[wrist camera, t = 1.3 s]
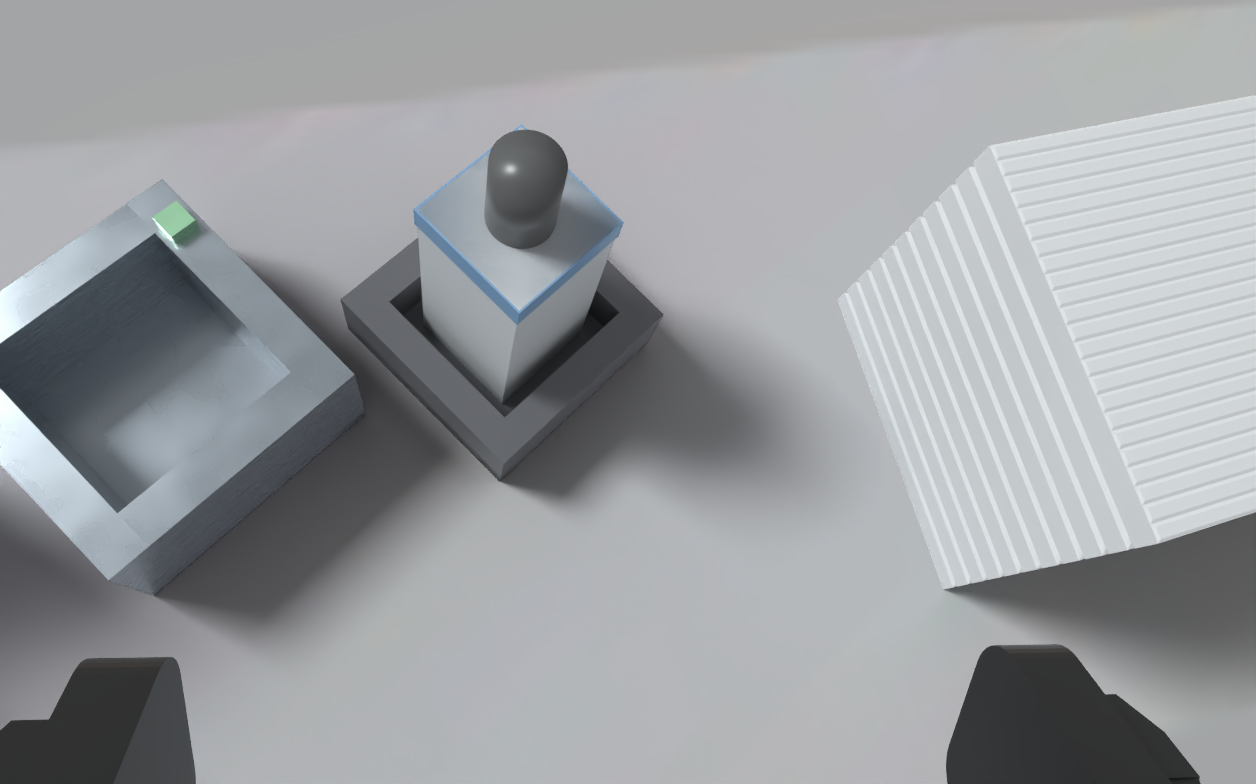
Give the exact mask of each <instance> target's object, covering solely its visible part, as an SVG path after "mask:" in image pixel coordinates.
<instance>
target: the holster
mask: <svg viewBox="0 0 1256 784" xmlns="http://www.w3.org/2000/svg"><path fill="white" fill-rule="evenodd" d="M341 303H342V306H343V310H344V314H345V317H346V321H347V325H348V329H349V330H350V331H351V332H352V333H353V334H354V335H355V336H356V337H357V338H358V339H359V340H360V341H361V342H362V343H363V344H364V345H365V346H366V347H367V348H368V349H369V350H370V351H371V352H372V353H373V354H374V355H375V356H376V357H377V358H378V359H379V360H380V361H381V362H382V363H383V364H384V365H385V366H386V367H387V368H388V369H389V370H390V371H391V372H392V373H393V374H394V375H395V376H396V377H397V378H398V379H399V380H400V381H401V382H402V383H403V384H404V385H405V386H406V387H407V388H408V389H409V390H410V391H411V393H412V394H413V395H414V396H415V397H416V398H417V399H418V400H419V401H420V402H421V403H422V404H423V405H424V406H425V407H426V408H427V409H428V410H429V411H430V412H431V413H432V414H433V415H434V416H435V417H436V418H437V419H438V420H439V421H440V422H441V423H442V424H443V425H444V426H445V427H446V428H447V429H448V430H449V431H450V432H451V433H452V434H453V435H454V436H455V437H456V438H457V439H458V440H459V441H460V442H461V443H462V444H463V445H464V446H465V447H466V448H467V449H468V450H469V451H470V452H471V453H472V454H473V455H474V456H475V457H476V458H477V459H478V460H479V461H480V462H481V463H482V464H483V465H484V466H485V467H486V468H487V469H488V470H489V471H490V472H491V473H492V474H493V475H494V476H495V477H496V478H497V479H498V480H499V481H501V480H502V479H503V478H504V477H505V476H506V475H507V474H508V473H509V472H510V471H511V470H512V469H513V468H514V467H516V466H517V465H518V464H519V463H520V462H521V461H522V460H523V459H524V458H525V457H526V456H527V455H528V454H529V453H530V452H531V451H533V450H534V449H535V448H536V447H537V446H538V445H539V444H540V443H541V442H542V441H543V440H544V439H545V438H546V437H547V436H548V435H550V434H551V433H552V432H553V431H554V430H555V429H556V428H557V427H558V426H559V425H560V424H561V423H562V422H563V421H564V420H565V419H567V418H568V417H569V416H570V415H571V414H572V413H573V412H574V411H575V410H576V409H577V408H578V407H579V406H580V405H581V404H582V403H583V402H585V401H586V400H587V399H588V398H589V397H590V396H591V395H592V394H593V393H594V392H595V391H596V390H597V389H598V388H599V387H600V386H602V385H603V384H604V383H605V382H606V381H607V380H608V379H609V378H610V377H611V376H612V375H613V374H614V373H615V372H616V371H617V370H619V369H620V368H621V367H622V366H623V365H624V364H625V363H626V362H627V361H628V360H629V359H630V358H631V357H632V356H633V355H634V354H636V353H637V352H638V351H639V350H640V349H641V348H642V347H643V346H644V345H645V344H646V343H647V342H648V341H649V339H650V338H651V336H652V334H653V332H654V330H655V329H656V327H657V325H658V323H659V322H660V320H661V318H662V316H663V314H662V313H661V312H660V311H659V310H658V309H657V308H656V307H655V306H654V305H653V304H652V303H651V302H650V301H649V300H648V299H647V298H646V297H645V296H644V295H643V294H642V293H641V292H640V291H639V290H638V289H637V288H636V287H635V286H634V285H632V284H631V283H630V282H629V281H628V280H627V279H626V278H625V277H624V276H623V275H622V274H621V273H620V272H619V271H618V270H617V269H616V268H615V267H614V266H613V265H612V264H611V263H610V262H609V261H608V260H607V262H606V264H605V267H604V270H603V273H602V275H601V278H600V281H599V283H598V286H597V289H596V292H595V294H594V297H593V300H592V303H591V305H590V308H589V311H588V314H587V316H586V319H585V322H584V324H583V327H582V330H581V332H580V333H579V334H578V335H577V336H576V337H575V338H574V339H573V340H572V341H570V342H569V343H568V344H567V345H566V346H565V347H564V348H563V349H562V350H561V351H559V352H558V353H557V354H556V355H555V356H554V357H553V358H552V359H551V360H550V361H548V362H547V363H546V364H545V365H544V366H543V367H542V368H541V369H540V370H539V371H537V372H536V373H535V374H534V375H533V376H532V377H531V378H530V379H529V380H527V381H526V382H525V383H524V384H523V385H522V386H521V387H520V388H519V389H518V390H516V391H515V392H514V393H513V394H512V395H511V396H510V397H509V398H508V399H507V400H505V401H504V402H503V403H501V402H500V401H499V400H498V399H497V398H496V397H495V396H494V395H493V394H492V393H491V392H490V391H489V390H488V389H487V388H486V387H485V386H484V385H483V384H482V383H481V382H480V381H479V380H478V379H477V378H476V377H475V376H474V375H473V374H472V373H471V372H470V371H469V370H468V369H467V368H466V367H465V366H464V365H463V364H462V363H461V362H460V361H459V360H458V359H457V358H456V357H455V356H454V355H453V354H452V353H451V352H450V351H449V350H448V349H447V348H446V347H445V346H444V345H443V344H442V343H441V342H440V341H439V340H438V339H437V338H436V337H435V336H434V335H433V334H432V333H431V332H430V331H429V330H428V329H427V328H426V327H425V326H424V320H423V304H422V288H421V273H420V257H419V241H418V238H417V239H416V240H415V241H413V242H412V243H411V244H410V245H408V246H407V247H406V248H404V249H403V250H402V251H401V252H399V253H398V254H397V255H396V256H394V257H393V258H392V259H391V260H389V261H388V262H387V263H386V264H384V265H383V266H382V267H381V268H379V269H378V270H377V271H376V272H374V273H373V274H372V275H371V276H369V277H368V278H367V279H366V280H364V281H363V282H362V283H361V284H359V285H358V286H357V287H356V288H354V289H353V290H352V291H351V292H349V293H348V294H347V295H346V296H344V297H343V298H342V299H341Z"/></svg>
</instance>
